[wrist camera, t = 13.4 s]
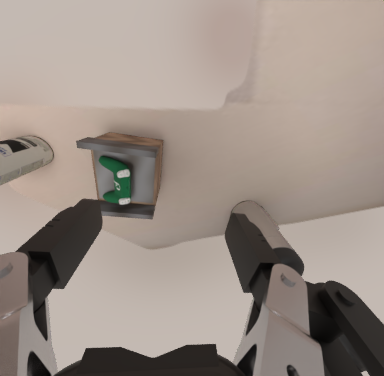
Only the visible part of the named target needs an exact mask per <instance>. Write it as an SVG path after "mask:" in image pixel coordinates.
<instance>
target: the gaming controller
mask: <svg viewBox="0 0 384 376" xmlns="http://www.w3.org/2000/svg"><path fill="white" fill-rule="evenodd" d="M98 161H99V163H100V164H101V165H102V166H104V167H105V168H107V169H108V170H110V171H112V172H113V175H114V188H115V191H110V192H107V193H105V194H103V198H104V200H106V201H107V202H111V203H119V204H121V205H123V204H128V203H130V202H131V172H130V169H129V168H128V166H127V165H126V164H124V163H123V162H121V161H119V160H116V159H114V158H110V157H106V156H101V157H100V158H99V160H98Z"/></svg>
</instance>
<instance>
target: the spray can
mask: <svg viewBox="0 0 384 376" xmlns="http://www.w3.org/2000/svg"><path fill="white" fill-rule="evenodd" d="M52 158H53V151H52V150H51V148H50V146H49V145H48V144H47V143H46V142H45V141H43V140H42V139H40V138H37V137H33V136H25V137H20V138H15V139H10V140H5V141H0V185H2V184H4V183H7V182H9V181H11V180H13V179H16V178H18V177H20V176H22V175H24V174H26V173H29V172H31V171H33V170H35V169H38V168H40V167H42V166H44V165H46V164H48V163H50V162H51V161H52Z"/></svg>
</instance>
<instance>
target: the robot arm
mask: <svg viewBox="0 0 384 376" xmlns="http://www.w3.org/2000/svg"><path fill="white" fill-rule="evenodd" d="M101 228H102V214H101V206H100V202H99V200H93V199H82V200H80V201H79V202H78V203H77V204H76V205H75V206H74V207H69V208H67V209H65V210H63V211H61V212H60V213H58V214H57V215H56V216H55V217H54V218H53V219H52V221H49V222H48V223H47V224H46V225H45V227H43V228H42V229H40V230H39V231H38V232H37V233H36V234H35V235H34V236H32V237H31V238H30V239H29V240H28V241H27V242H26V243H25V244H23V245H22V246H21V247H20V248H19V249H18V250H17V251H16V252H10V253H6V254H2V255H0V376H363V375H362V374H361V372H363V371H367V372H368V374H369V375H370V376H384V325H383V324H382V322H381V321H380V320H379V319H378V318H377V317H376V316H375V315H374V313H373V312H372V311H371V310H370V309H369V308H368V307H367V306H366V304H365V303H364V302H363V301H362V300H361V299H360V298H359V297H358V296H357V295H356V294H355V293H354V292H353V291H352V290H350V289H349V288H347V287H346V286H344V285H342V284H340V283H338V282H335V281H327V282H326V283H316V284H312V283H309V282H306V281H304V279H303V278H302V277H301V276H302V274H303V271H304V264H303V261H302V260H301V258H300V257H299V256H298V254H297V253H296V252H295V251H294V249H293V248H292V247H291V246H290V245H289V243H288V242H287V241H286V240H285V238H284V237H283V236H282V234H281V233H280V232H279V231H278V230H279V227H278V225H277V224H276V223H275V222H274V221H273V219H272V218H271V217H270V216H269V214H268V213H267V212H266V211H265V210H264V208H263V207H261V206H259V205H258V204H257V203H255V202H252V201H245V202H242V203H239V204H238V205H236V206H235V207H234V209H233V210H232V213H231V216H230V219H229V222H228V225H227V228H226V231H225V239H226V243H227V246H228V249H229V252H230V254H231V257H232V260H233V263H234V266H235V269H236V272H237V275H238V278H239V281H240V284H241V286H242V289H243V292H244V293H252V295H253V297H254V298H253V300H252V303H251V306H250V310H249V314H248V318H247V321H246V325H245V329H244V333H243V337H242V340H241V343H240V345H239V347H238V349H237V352H236V355H235V357H234V361H233V363H232V362H231V361H229V360H228V359H226V358H224V357H222V356H220V355H218V354H217V349H216V344H204V345H203V344H202V345H185V346H183V347H181V348H178V349H175V350H173V351H171V352H168V353H166V354H163V355H161V356H159V357H155V358H151V357H147V356H144V355H142V354H139V353H136V352H133V351H130V350H127V349H125V348H122V347H112V348H110V347H109V348H86V350H85V352H84V355H83V357H82V360H80V361H77V362H75V363H73V364H71V365H69V366H67V367H66V368H64V369H62V370H61V371H59V372H57V365H56V359H55V355H54V352H53V348H52V342H51V330H50V318H49V307H48V306H49V305H48V298H47V296H48V294H49V293H50V292H51V290H52V289H64V288H65V286H66V284H67V283H68V281H69V280H70V278H71V277H72V275H73V273H74V272H75V270H76V269H77V267H78V266H79V264H80V262H81V261H82V259H83V258H84V256H85V255H86V253H87V251H88V250H89V248H90V247H91V245H92V244H93V242H94V240H95V239H96V237H97V236H98V234H99V232H100V231H101Z"/></svg>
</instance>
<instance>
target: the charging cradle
mask: <svg viewBox="0 0 384 376" xmlns="http://www.w3.org/2000/svg"><path fill="white" fill-rule="evenodd" d="M76 143H77V148H82V149H90V150H91V154H92V161H93V168H94V175H95V182H96V189H97V197H98V200H99V202H100V206H101V214H102V216H115V217H128V218H141V219H153V215H154V211H155V205H156V201H157V197H158V193H159V189H160V176H161V162H162V149H163V140H157V139H150V138H144V137H137V136H130V135H123V134H117V133H110V132H109V133H107V134H104V135H101V136H98V137H96V138H90V137H87V138H85V139H82V140H79V141H76ZM101 156H106V157H110V158H114V159H116V160H119V161H121V162H123V163H124V164H126V165H127V166H128V168H129V169H130V172H131V202H130V203H128V204H123V205H121V204H119V203H111V202H107V201H106V200H104V198H103V194H105V193H107V192H110V191H115V188H114V175H113V172H112V171H110V170H108V169H107V168H105V167H104V166H102V165H101V164H100V163H99V161H98V160H99V158H100V157H101Z"/></svg>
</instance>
